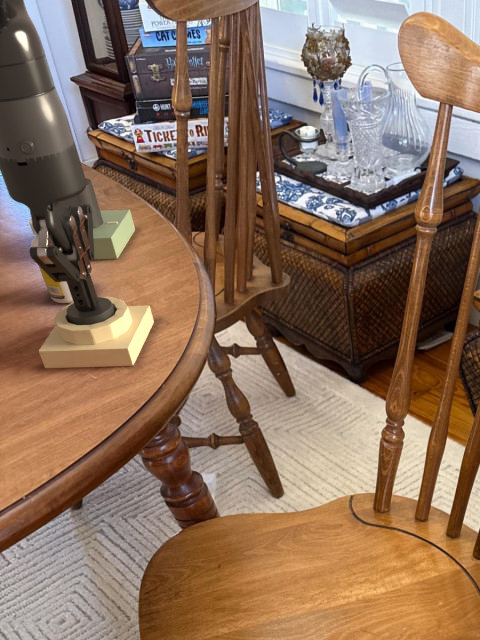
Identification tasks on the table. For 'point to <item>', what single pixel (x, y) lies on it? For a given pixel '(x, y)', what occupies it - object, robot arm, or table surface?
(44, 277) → the supplement bottle
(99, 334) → the button base
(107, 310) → the button
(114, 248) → the dial panel
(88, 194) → the dial
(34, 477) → the table surface
